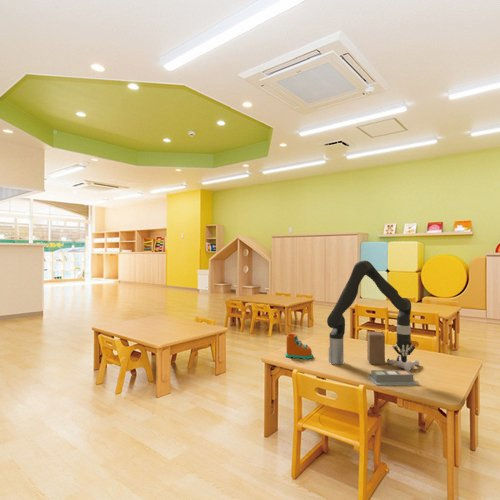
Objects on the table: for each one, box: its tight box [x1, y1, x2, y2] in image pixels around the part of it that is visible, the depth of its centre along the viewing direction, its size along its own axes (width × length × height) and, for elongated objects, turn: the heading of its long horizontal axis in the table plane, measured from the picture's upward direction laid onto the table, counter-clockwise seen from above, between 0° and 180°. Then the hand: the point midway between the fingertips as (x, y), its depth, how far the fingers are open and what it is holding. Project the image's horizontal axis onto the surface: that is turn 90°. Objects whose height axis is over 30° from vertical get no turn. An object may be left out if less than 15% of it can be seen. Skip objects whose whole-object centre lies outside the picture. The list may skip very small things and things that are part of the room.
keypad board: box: [366, 369, 419, 387], centre depth 199 cm, size 24×14×5 cm, turn 91°
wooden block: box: [366, 331, 386, 366], centre depth 231 cm, size 10×10×20 cm
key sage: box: [374, 371, 386, 375], centre depth 199 cm, size 5×5×2 cm
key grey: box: [386, 371, 397, 375], centre depth 199 cm, size 5×5×2 cm
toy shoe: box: [285, 333, 314, 360], centre depth 245 cm, size 12×20×15 cm, turn 73°
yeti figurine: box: [386, 355, 420, 372], centre depth 223 cm, size 20×7×20 cm
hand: (404, 362), depth 199 cm, fingers closed
